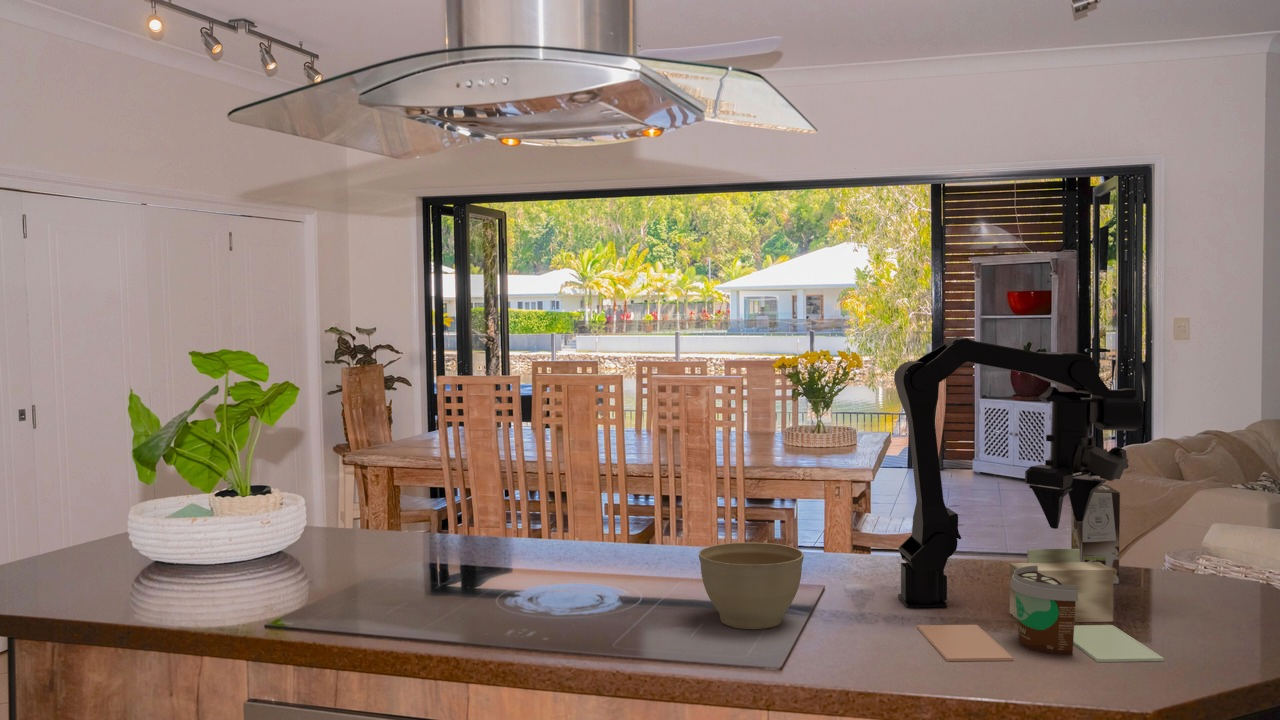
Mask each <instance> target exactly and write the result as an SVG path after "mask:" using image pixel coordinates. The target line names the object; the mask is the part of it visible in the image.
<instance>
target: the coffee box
mask: <svg viewBox="0 0 1280 720" xmlns="http://www.w3.org/2000/svg"><path fill="white" fill-rule="evenodd" d="M1070 507H1071V508H1070V511H1071V513H1070V516H1071V517H1070V519H1071V521H1070V525H1071V527H1070V528H1071V529H1070V530H1071V532H1070V533H1071V535H1070V537H1071V544H1070V546H1071V548H1070V549H1080V562H1100V563H1102V564H1104V565H1106V566H1107V567H1109V568H1111V569H1113V570H1114V577H1113V585H1118V584H1120V529H1121V528H1120V526H1121V525H1120V523H1121V522H1120V520H1121V519H1120V518H1121V517H1120V515H1121V492H1120V491H1118V490H1116V489H1114V488H1113V487H1111V486H1109V485H1108V484H1102V485H1100V486H1099V487H1098V488H1096V489H1095V490H1094V492H1093V495H1092V497H1091V500H1090V503H1089V506H1088V509H1087V512H1086V515H1085V517H1084V520H1083V521H1082V522H1079V521H1076V519H1075V516H1074V513H1073V509H1072V505H1071V504H1070Z"/></svg>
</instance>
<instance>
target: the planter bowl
mask: <svg viewBox="0 0 1280 720" xmlns="http://www.w3.org/2000/svg"><path fill="white" fill-rule="evenodd" d="M698 559H699V562H700V573H701V578H702V582H703V586H704V590H705V591H706V594H707V596H708V598H709V600H710V601H711V604H712V605H713V606H714V608H715V610H717V612H718V613H719V619H720V622H721V623H723V624H724V625H726V626H728V627H732V628H734V629H745V630H761V629H771V628H774V627H777V626H779V625H781V624H782V622H783V619H784V614H785V613H786V612H787V611H788V609H789V608H790V607H791V605H792V602H793V601H794V599H795V597H796V595H797V594H798V593H797V592H798V590H799V587H800V585H801V579H802V578H801V577H802V574H803V573H802V571H803V562H804V552H803V551H802V550H801V549H799V548H796V547H793V546H790V545H784V544H779V543H771V542H770V543H769V542H728V543H727V542H726V543H720V544H714V545H710V546H708V547H704V548H702V549H700V550H699V551H698Z"/></svg>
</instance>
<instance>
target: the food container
mask: <svg viewBox="0 0 1280 720" xmlns="http://www.w3.org/2000/svg"><path fill="white" fill-rule="evenodd" d="M1010 587H1011V588H1012V589H1013V590H1014V591H1015V595H1016V608H1017V619H1016V621H1017V630H1018V631H1017V633H1018V642H1019V644H1020V645H1021V646H1022V647H1023V648H1025V649H1028V650H1030V651H1034V652H1037V653H1038V652H1039V653H1043V654H1048V655H1057V656H1058V655H1059V656H1073V652H1074V644H1073V639H1074V625H1075V623H1076V622H1075V605H1076V601H1078V593H1077V590H1076V585H1063V584H1061V583H1060V582H1059V581H1058V580H1057V579H1055V578H1052V577H1047V576H1044V575H1042V574H1040V573H1038V566H1026V567H1021V568H1018V569H1016V570H1015V571H1014V574H1013V576H1012V579H1011V584H1010V583H1009V588H1010Z"/></svg>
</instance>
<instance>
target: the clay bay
mask: <svg viewBox="0 0 1280 720" xmlns="http://www.w3.org/2000/svg"><path fill="white" fill-rule="evenodd" d="M916 629H917V630H918V631H919V632H920V633H921V634H922V636H924V638H925V639H926V640H927V641H928V642H929V643H930V644H931V646H933V648H934V649H935V650H936V651H937V652H938V653H939V654H940V655H941V656H942V658H944V660H945V661H946V662H1000V661H1001V662H1003V661H1005V662H1007V661H1009V662H1010V661H1011V662H1012V661H1014V657H1013V656H1012V655H1011V654H1010V653H1008V652H1007V650H1006V649H1004V648H1003V647H1002V645H1000V644H998V642H997V641H996V640H994V639H993V638H992V637H991V636H990V635H989V634H988V633H987V632H986V631H984V629H982V628H981V627H980V626H979V625H978V624H941V625H939V624H937V625H934V624H933V625H932V624H930V625H927V624H926V625H923V624H922V625H916Z"/></svg>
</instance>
